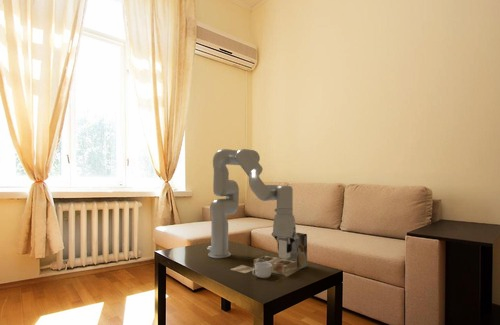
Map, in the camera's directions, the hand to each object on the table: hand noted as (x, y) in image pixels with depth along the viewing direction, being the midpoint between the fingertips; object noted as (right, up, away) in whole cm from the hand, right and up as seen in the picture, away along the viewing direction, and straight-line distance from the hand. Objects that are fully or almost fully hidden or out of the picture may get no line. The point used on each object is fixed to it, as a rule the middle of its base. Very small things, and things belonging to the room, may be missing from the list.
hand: (284, 251), depth 135 cm
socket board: (-4, -10, +2) cm, 11 cm away
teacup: (-11, -9, -8) cm, 17 cm away
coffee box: (+7, -11, +8) cm, 15 cm away
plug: (0, -3, 0) cm, 3 cm away
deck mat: (-19, -10, +2) cm, 22 cm away
